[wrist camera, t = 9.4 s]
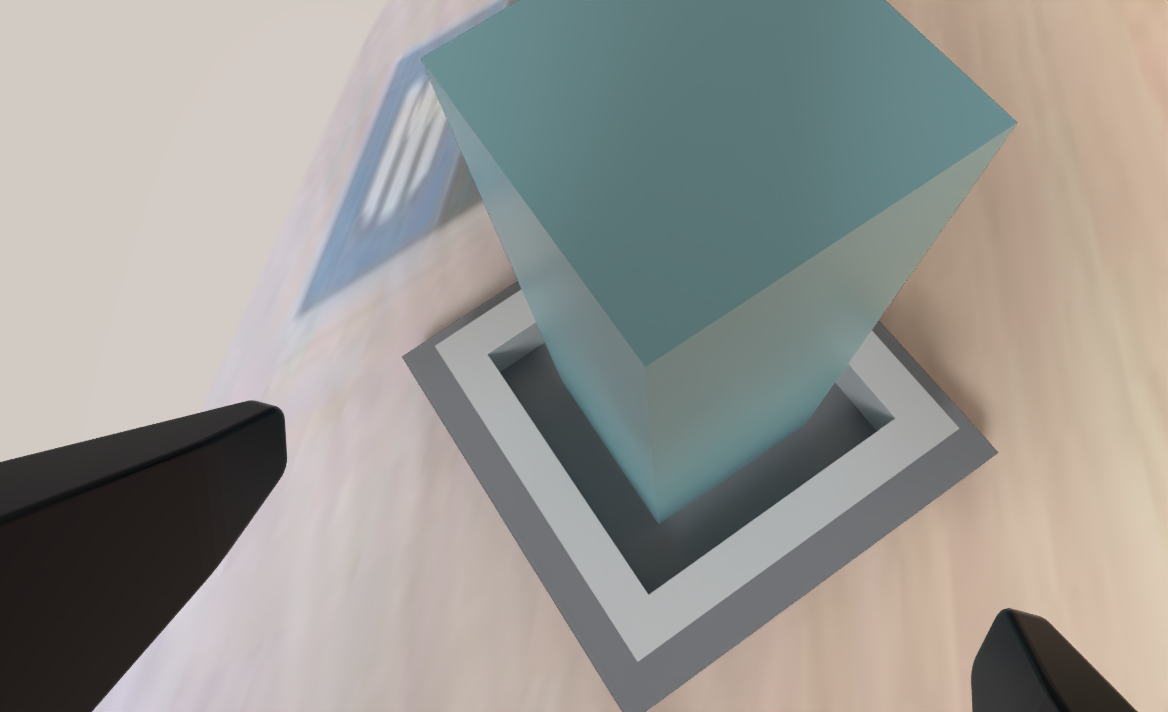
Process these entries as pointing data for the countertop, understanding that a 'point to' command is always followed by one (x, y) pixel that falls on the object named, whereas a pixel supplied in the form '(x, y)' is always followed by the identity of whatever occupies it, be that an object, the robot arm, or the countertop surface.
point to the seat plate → (704, 527)
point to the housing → (709, 203)
